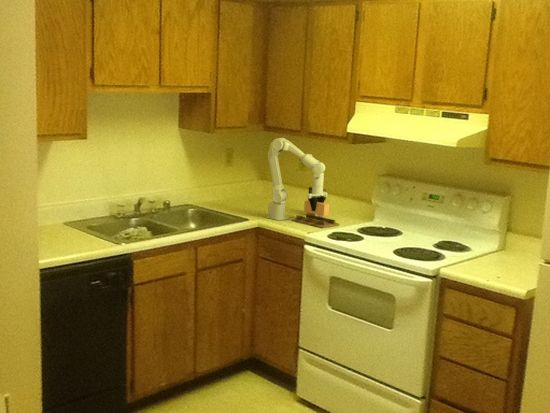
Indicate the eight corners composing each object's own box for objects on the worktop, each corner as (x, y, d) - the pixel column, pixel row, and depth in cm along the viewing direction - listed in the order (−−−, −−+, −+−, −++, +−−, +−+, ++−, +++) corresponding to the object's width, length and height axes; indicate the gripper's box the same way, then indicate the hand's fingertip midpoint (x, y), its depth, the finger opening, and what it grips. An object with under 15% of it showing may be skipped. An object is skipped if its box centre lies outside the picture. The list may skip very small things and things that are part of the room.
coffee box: (306, 215, 404) (308, 187, 401) (316, 214, 407) (318, 186, 404) (314, 218, 396) (316, 189, 394) (324, 217, 399) (326, 189, 396)
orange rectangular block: (304, 211, 385) (304, 200, 384) (308, 210, 388) (309, 200, 386) (323, 216, 375) (324, 204, 374) (328, 215, 378) (329, 204, 377)
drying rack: (291, 221, 385) (291, 215, 384) (308, 218, 395) (309, 213, 394) (322, 228, 370) (322, 222, 369) (339, 225, 380) (339, 220, 379)
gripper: (314, 187, 371) (312, 213, 373) (332, 185, 381) (330, 210, 383) (304, 185, 376) (303, 210, 378) (322, 183, 386) (320, 208, 388)
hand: (316, 210), depth 381 cm, fingers closed on orange rectangular block, 4 cm apart
